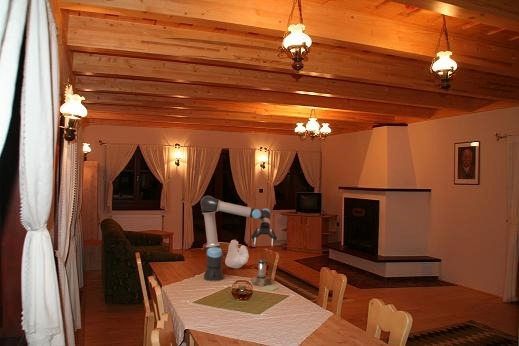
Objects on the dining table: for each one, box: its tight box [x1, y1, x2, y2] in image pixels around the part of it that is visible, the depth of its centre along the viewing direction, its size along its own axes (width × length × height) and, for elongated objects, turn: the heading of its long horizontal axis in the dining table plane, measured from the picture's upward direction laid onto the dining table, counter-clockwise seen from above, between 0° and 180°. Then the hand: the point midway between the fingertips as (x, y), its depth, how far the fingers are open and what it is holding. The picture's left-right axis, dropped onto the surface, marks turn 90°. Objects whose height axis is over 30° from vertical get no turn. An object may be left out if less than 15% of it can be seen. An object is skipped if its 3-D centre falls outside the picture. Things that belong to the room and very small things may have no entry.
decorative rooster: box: [224, 239, 250, 270], centre depth 365 cm, size 25×16×25 cm, turn 35°
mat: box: [260, 285, 280, 291], centre depth 293 cm, size 10×10×1 cm
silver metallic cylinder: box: [257, 259, 267, 279], centre depth 305 cm, size 7×7×18 cm
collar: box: [250, 275, 272, 287], centre depth 305 cm, size 11×11×5 cm
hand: (263, 245), depth 316 cm, fingers open, 13 cm apart
